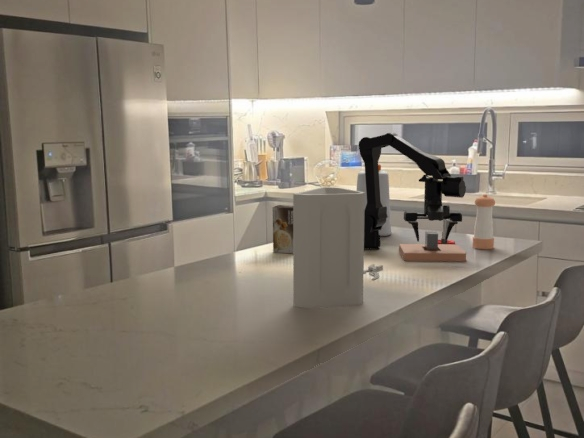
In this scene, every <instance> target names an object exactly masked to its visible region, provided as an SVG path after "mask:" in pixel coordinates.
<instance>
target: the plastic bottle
mask: <svg viewBox="0 0 584 438" xmlns="http://www.w3.org/2000/svg"><path fill="white" fill-rule="evenodd" d="M378 170H379V186H380V201H381V204H382V206H383V207H385V206H386V207H387V216H388V218H386V222H385V224H384V225H383V226H382V228H381V230H378V231H379V234H380V237H387V236H388V237H389V236H390V235H391V234H392V222H391V203H390V202H391V201H390V200H391V199H390V183H389V181H390V180H389V173H388V172H387V171H386V170H382V165H381V164H379V163H378ZM355 191H360V192H365V207H366V205H367V194H366V179H365V170H361V171H359V172H358V174H357V178H356V189H355ZM365 207H364V210H365Z"/></svg>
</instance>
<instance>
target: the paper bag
mask: <svg viewBox="0 0 584 438" xmlns="http://www.w3.org/2000/svg"><path fill="white" fill-rule="evenodd" d="M292 197H293V203H292V206H293V255H292V256H293V257H292V259H293V263H292V264H293V266H292V267H293V270H292V271H293V272H292V273H293V276H292V277H293V280H292V282H293V283H292V284H293V288H292V289H293V292H292V293H293V298H292V300H293V307H297V308H303V309H304V308H305V309H318V308H319V309H320V308H331V307H332V308H336V307H352V306H360V305H362V304H363V303H364V270H365V269H364V262H365V261H364V260H365V258H364V257H365V249H364V207H365V192H360V191H356V189H349V188H348V189H347V188H344V187H336V186H334V187H331V186H322V187H321V186H320V187H316V188H311V189H309V190H304V191H299V192H295V193H293V196H292Z"/></svg>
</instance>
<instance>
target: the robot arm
mask: <svg viewBox="0 0 584 438" xmlns="http://www.w3.org/2000/svg"><path fill="white" fill-rule="evenodd" d="M357 145H358V150H359V154H360V157H361V159H362V161H363V164H364V171H365V179H366V194H367V205H366V207H365V210H364V250H380V247H381V236H380V234H379V231H378V230H381V228H382V226H383V225H384V224H385V222H386V218H388V216H387V207H386V206H385V207H383V206H382V204H381V201H380V186H379V170H378V164H379V160H380V158H381V155H382V149H383V148H386V147H392V149H394V150H395V151H397V152H398V153H400V154H402V155H403V156H405V157H406V158H408V159H410V160H411V161H413V162H414V163H415V165H417V167H418V169H420V170H421V172H423V173H424V174H423V175H422V177H420V179H418V183H419V182H421V183H424V198H423V199H424V200H423V201H424V202H423V213H418V212H417V211H416V210H405V211H404V212H403V220H404V222H407V223H408V224H409V225H411V226H412V228H413V231H414V235H415V239H416V241H417V242H420V233H419V222H418V220H428V221H440V222H441V221H442V222H443V219H447V220H446V228H445V242H447V240H449V235H450V234H451V232H452V229H453V227H454V226H455V225H458V224H459V223H460V222H463V214H462V213H461V212H460V211H456V210H454V211H453V210H452V211H451V210H450V205H443V196H444V197H446V198H447V197H448V198H450V197H451V198H461V199H463V198H464V196H465V195H466V191H467V186H466V183H465V181H464V176H452V175H451V173H450V172H449V170H448V169H447V168H446V163H445V161H444V159H442V158H441V157H438V156H436V155H433V154H430V153H427V152H424V151H423V150H421V149H419V148H418V147H416V146H415V145H413V144H411V143H410V142H408V141H407V140H405V139H404V138H403V137H401V136H400V135H398V134H397V133H395V132H387V133H385V134H382V135H379V136H364V137H362V138H360V141H358V144H357Z"/></svg>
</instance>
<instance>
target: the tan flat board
mask: <svg viewBox="0 0 584 438" xmlns="http://www.w3.org/2000/svg"><path fill="white" fill-rule="evenodd" d="M398 252H399V254H400V256H401V257H402V259H403V261H413V262H414V261H415V262H416V261H418V262H421V261H424V262H430V261H431V262H437V261H438V262H466V261H467V253H466V251H464V249H462V247H460V246H459V245H458V244H438V251H425V243H399V245H398Z"/></svg>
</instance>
